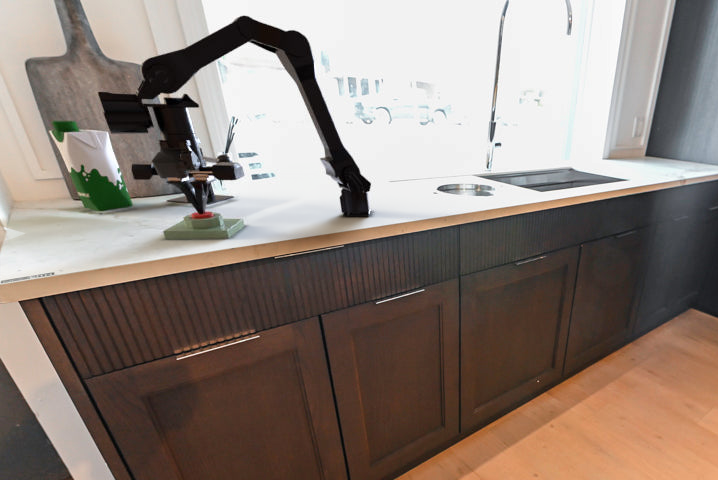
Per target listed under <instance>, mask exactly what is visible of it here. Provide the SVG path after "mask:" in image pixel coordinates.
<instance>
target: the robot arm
mask: <svg viewBox="0 0 718 480" xmlns="http://www.w3.org/2000/svg"><path fill="white" fill-rule="evenodd" d="M247 43H250V44H252V45H254V46H256V47H259V48H261V49H262V50H265V51H267V52H270V53H272V54H275V55H276V57H277V58H278V60H279V62H280V63H281V65H282V67H283V68H284V70H285V71H286V72H287V74H288V75H289V76H290V77H291V79H292V80H293V81H294V83H295V85H296V86H297V88H298V91H299V94H300V95H301V98H302V100H303V102H304V105H305V107H306V109H307V112H308V114H309V117H310V119H311V121H312V123H313V126H314V127H315V130H316V133H317V135H318V137H319V140H320V142H321V145H322V146H323V149H324V157H320V158H319V160H320V162H321V164H322V165H323V167H324V168H325V174H326V175H327V176H330V178H331V179H332V180H333V181H334V182H336V183H337V185H338V187H339V188H340V189H341V190H340V195H339V203H340V204H339V205H340V211H341V213H342V217H370V215H371V212H372V209H371V208H370V200H369V192H370V190H371V186H372V182H371V181H370V180H368V179H367V178H366V177H365V176H364V175H363V174H361V170H360V167H359V166H358V164H357V162H356V160H355V159H354V157H353V156H352V155H351V153H350V152H349V151H348V149H347V148H346V147H345V145H344V143H343V142H342V139H341V137H340V135H339V132H338V129H337V127H336V124H335V122H334V120H333V117H332V115H331V112H330V110H329V107H328V105H327V103H326V100H325V98H324V95H323V92H322V90H321V87H320V85H319V82H318V79H317V75H316V63H315V59H314V58H315V57H314V55H313V50H312V46H311V44H310V42H309V39H308V38H307V37H306V35H304V34H303V33H301V32H300V31H298V30H295V29H291V30H284V29H282V28H279V27H277V26H273V25H271V24H268V23H264V22H261V21H260V20H256V19H255V18H253V17H250V16H249V15H240V16H238V17H236V18H235V19H234V20H233V21H232V22H231V23H228V24H227V25H225V26H223V27H221V28H220V29H217V30H215V31H214V32H212V33H210V34H208V35H206V36H205V37H203V38H201V39H199V40H197V41H195V42H193V43H191V44H190V45H188V46H186V47H185V48H181V49H177V50H174V51H170V52H167V53H162V54H159V55H157V56H152V57H148V58H147V59H145V60H144V61H142V62H141V64H140V67H139V71H140V72H139V73H140V76H141V79H142V80H141V82H140V84H139V86H138V88H136V87H135V90H136V92H135V93H116V92H114V93H113V92H109V91H98V92H97V95H98V98H99V101H100V103H101V106H102V110H103V111H102V113H103V117H104V119H105V122H106V125H107V127H108V129H109V131H110V134H111V135H124V134H125V135H133V134H134V135H135V134H141V135H142V134H149V129H154V126H155V125H154V123H153V120H152V119H153V118H152V116H151V113H150V110H149V108H151V109H152V113H153V116H154V119H155V121H156V125H157V127H158V131H159V135H160V137H161V139H158V142H159V143H158V144H159V145H158V146H159V147H160V148H159V149H160V150H159V151H158V152H157V153H156V155H154V157H153V158H152V160H151V161H150V160H148V161H146V160H145V161H140V162H136V163H132V164H131V165H130V168H129V172H130V175H131V177H132V180H133V181H134V180H135V181H150V180H152V179H153V178H154V176H158V177H159V178H160V179H163V180H166V179H167V181H166V183H167V184H168V185H173V186H174V187H176V188H177V189H178V190H180V191H181V192H182V194H183V196H186V197H187V198H188V200H189V201H190V202H191V203H190V204H191V205H192V207H193V208H194V209H195V210H196V212H198V213H199V214H204V213H205V212H206V209H207V205H206V203H207V197H208V192H209V189H210V185H212V183H213V182H215V181H217V180H218V181H237V180H239V179H241V178H244V177H245V172H244V169H243V166H242V165H241V164H240V163H239V162H236V161H235V162H233V161H232V162H220V163H213V164H212V165H208V163H207V161H205V160H203V159H202V155H201V152H200V148H201V147H200V144H201V140H200V137H197V134H196V131H195V127H194V124H193V121H192V117H191V114H190V110H189V109H192V108H194V109H195V108H196V109H199V108H200V104H199V103H198V102H196V101H194V100H193V99H192V98H191V97H190V96H189V94H187V93H183V94H182V96H181V97H167V96H166V97H165V96H164V97H163V103H159V102H158V103H153V102H151V103H150V102H149V103H148V102H143V100H154V99H156V98H157V97H159V96H160V95H161V94H163V95H164V94H165V95H171V94H174V93H177V92H178V91H179V90H180V89H182V87H183V86H185V85H186V84H187V83H188V82H189V81H190V80H191V79H192V78H193V77H194V76H195V75H196V74H197V73H198V72H199V71H200V70H201V69H203V68H204V67H206V66H208V65H210V64H212V63H213V62H215V61H217V60H219V59H220V58H223V57H225V56H226V55H228V54H229V53H231V52H233V51H235V50H237V49H238V48H240V47H242V46H243V45H246V44H247ZM204 165H206V166H204ZM188 176H193V177H188Z"/></svg>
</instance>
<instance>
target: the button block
mask: <svg viewBox="0 0 718 480" xmlns="http://www.w3.org/2000/svg"><path fill="white" fill-rule="evenodd" d="M212 213H213V215H214V217H211V218H205V219H192V217H191V214H187V215H185V216H183V217H182V219H183V220H181V221H179V222H177V223H175V224H173V225H172V226H170V227H168V228H166V229H165V230H163V231H162V234H163V236H164V239H165V240H195V239H196V240H198V239H199V240H200V239H201V240H205V239H206V240H208V239H211V240H212V239H230V238H231V237H233V236H234V235H235V234H236V233H238V232H239V231H240V230H242V229H243V228H244V227H245V225H246V224H245V222H244V218H223V217H224V216H223V215H222V214H221V213H218V212H212Z"/></svg>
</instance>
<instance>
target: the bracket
mask: <svg viewBox="0 0 718 480" xmlns="http://www.w3.org/2000/svg"><path fill="white" fill-rule="evenodd" d="M199 148H200V152H201V155H202V156H204V153H203V149H202V147H199ZM204 166H207V165H204ZM188 177H193V176H188ZM212 185H213V184H211V185H210V189H209V192H208V197H207V203H206V206H208V205H213V204H216V203H219V202H223V201H227V200H230V199H233V198H235V196H234V195H223V194H215V192H214V188H213V186H212ZM166 202H167V203H179V204H180V203H181V204H191V202H190V201H189V200H188V198H187V197H186V196H185V195H183V196H179V197H174V198H170V199H166Z"/></svg>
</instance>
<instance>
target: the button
mask: <svg viewBox="0 0 718 480" xmlns="http://www.w3.org/2000/svg"><path fill="white" fill-rule="evenodd" d="M213 213H214V212H212V211H205V213H204V214H199V213H198V212H197V211H196V212H193V213H190V215H191V217H192V219H205V218H211V217H214V215H213Z"/></svg>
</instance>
